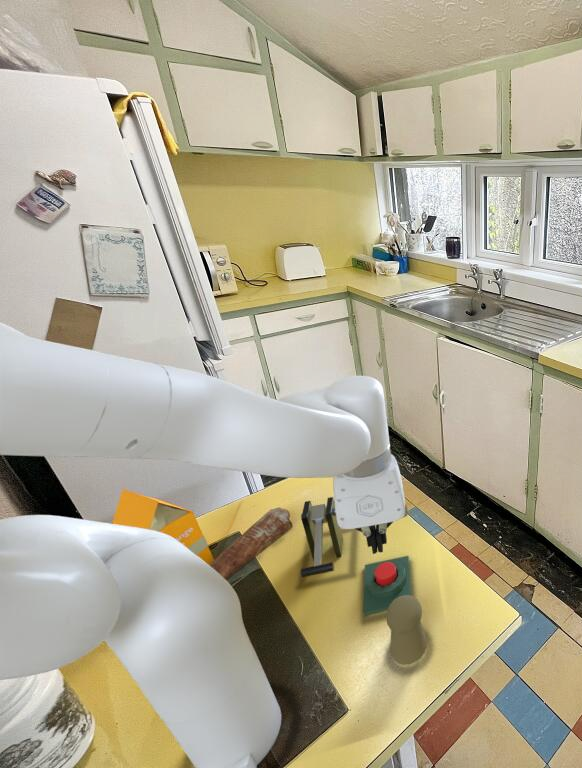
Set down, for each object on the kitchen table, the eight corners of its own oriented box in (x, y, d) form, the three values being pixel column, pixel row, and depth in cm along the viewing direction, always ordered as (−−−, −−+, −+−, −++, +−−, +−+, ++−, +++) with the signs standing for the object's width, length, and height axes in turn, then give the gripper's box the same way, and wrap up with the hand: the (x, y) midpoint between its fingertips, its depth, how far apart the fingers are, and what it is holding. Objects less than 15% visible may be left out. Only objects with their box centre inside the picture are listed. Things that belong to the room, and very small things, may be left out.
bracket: (352, 575, 78) (341, 526, 72) (300, 587, 75) (284, 536, 69) (355, 528, 88) (345, 482, 82) (309, 537, 86) (296, 490, 80)
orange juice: (185, 554, 81) (147, 474, 72) (218, 567, 79) (183, 486, 70) (142, 587, 74) (94, 504, 65) (176, 603, 72) (131, 518, 63)
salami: (298, 530, 87) (292, 510, 85) (207, 606, 72) (197, 584, 69) (277, 520, 89) (270, 501, 87) (184, 592, 74) (173, 571, 71)
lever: (334, 572, 72) (331, 568, 70) (303, 579, 70) (299, 575, 69) (335, 507, 79) (332, 502, 77) (306, 512, 78) (303, 507, 76)
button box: (413, 609, 72) (410, 594, 70) (364, 621, 70) (361, 606, 68) (409, 563, 80) (407, 548, 78) (366, 572, 78) (363, 558, 76)
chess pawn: (436, 649, 66) (432, 604, 61) (405, 680, 62) (398, 635, 57) (413, 625, 69) (407, 581, 64) (382, 653, 65) (373, 608, 60)
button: (397, 583, 72) (396, 576, 71) (375, 588, 71) (374, 581, 71) (396, 566, 75) (395, 559, 75) (375, 571, 74) (374, 564, 74)
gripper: (306, 480, 56) (327, 574, 64) (417, 464, 60) (425, 555, 68) (313, 449, 63) (332, 538, 70) (413, 437, 67) (421, 522, 74)
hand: (377, 546), depth 69 cm, fingers closed
